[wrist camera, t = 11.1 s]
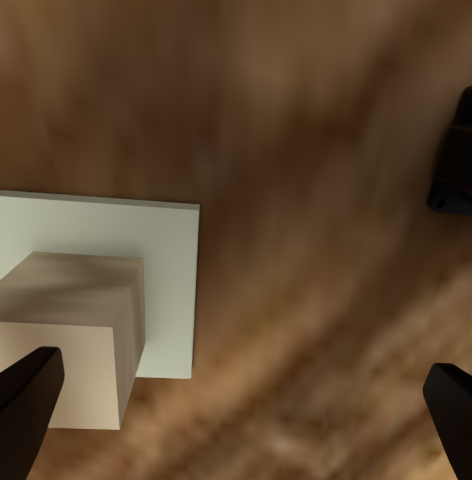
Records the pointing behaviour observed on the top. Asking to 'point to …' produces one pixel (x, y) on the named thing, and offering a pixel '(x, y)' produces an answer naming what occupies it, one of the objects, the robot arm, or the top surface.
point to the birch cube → (78, 329)
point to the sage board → (119, 245)
